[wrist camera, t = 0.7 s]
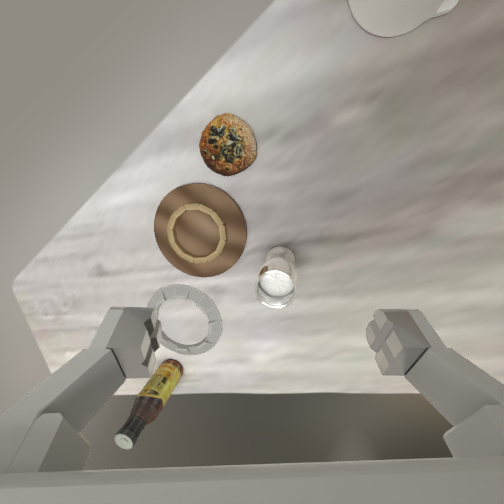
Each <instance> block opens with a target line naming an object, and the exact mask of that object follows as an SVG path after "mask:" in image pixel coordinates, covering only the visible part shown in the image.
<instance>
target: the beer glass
mask: <svg viewBox="0 0 504 504" xmlns="http://www.w3.org/2000/svg"><path fill="white" fill-rule="evenodd" d="M294 264H295V257H294V254H293V253H292V251H291V250H290V249H288V248H286V247H282V246H278V247H275V248H273V249H271V250H270V251H269V252H268V254H267V257H266V262H264V264H263V265H262V266H261V268H260V270H259V272H258V275H257V279H256V284H255V293H256V296H257V298H258V299H259V301H260V302H261V303H262V304H264V305H265V306H267V307H270V308H276V309H278V308H283V307H286V306H288V305H289V304H290V303H291V302H292V301H293V300H294V298H295V296H296V290H297V283H298V278H297V272H296V269H295V267H294Z"/></svg>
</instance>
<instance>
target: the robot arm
mask: <svg viewBox="0 0 504 504" xmlns="http://www.w3.org/2000/svg"><path fill="white" fill-rule="evenodd" d="M458 1H459V0H348V2H349V6H350V9H351V12H352V14H353V16H354V18H355V20H356V21H357V22H358V24H359V25H360V26H361V27H362V28H363V29H365V30H366V31H367V32H369V33H371V34H374V35H377V36H381V37H394V36H399V35H402V34H405V33H407V32H409V31H411V30H413V29H415V28H416V27H418V26H419V25H421V24H422V23H424V22H425V21H427V20H428V19H430V18H433V17H437V16H441V15H444V14H447V13H449V12H450V11H452V10H453V9H454V7H455V6H456V4H457V3H458ZM158 315H159V313H158V310H157V308H142V307H111V308H110V309H109V310H108V311H107V313H106V315H105V317H104V319H103V321H102V323H101V325H100V327H99V329H98V331H97V333H96V335H95V337H94V339H93V341H92V343H91V345H90V347H89V349H83V350H82V351H81V352H80V353H78V354H77V355H76V356H75V357H73V358H72V359H71V360H69V361H68V362H67V363H66V364H64V365H63V366H62V367H61V368H59V369H58V370H57V371H55V372H54V373H53V374H52V375H50V376H49V377H48V378H47V379H45V380H44V381H43V382H41V383H40V384H39V385H38V386H36V387H35V388H34V389H33V390H31V391H30V392H29V393H27V394H26V395H25V396H24V397H22V398H21V399H20V400H18V401H17V402H16V403H15V404H13V405H12V406H11V407H10V408H8V409H7V410H6V411H4V412H3V414H2V415H1V417H0V504H504V385H503V384H502V383H500V382H499V381H497V380H496V379H495V378H493V377H492V376H490V375H489V374H487V373H486V372H484V371H483V370H482V369H480V368H479V367H477V366H476V365H474V364H473V363H471V362H470V361H469V360H467V359H466V358H464V357H463V356H461V355H460V354H459V353H457V352H456V351H454V350H453V349H451V348H447V347H446V346H445V345H444V343H443V342H442V340H441V339H440V337H439V336H438V335H437V333H436V332H435V330H434V329H433V328H432V326H431V325H430V323H429V322H428V320H427V319H426V318H425V316H424V315H423V313H422V312H421V311H419V310H403V309H378V310H377V311H375V313H374V315H373V317H374V320H373V321H371V322H370V323H369V324H368V326H367V328H366V338H367V342H368V344H369V346H370V348H371V349H373V350H374V351H375V352H376V355H375V360H376V362H377V364H378V367H379V369H380V371H381V373H382V375H399V376H405V378H406V379H407V380H408V381H409V382H410V383H411V384H412V385H413V386H414V387H415V388H416V389H417V390H418V391H419V392H420V393H421V394H422V395H423V396H424V397H425V398H426V399H427V400H428V401H429V402H430V403H431V404H432V405H433V406H434V407H435V408H436V409H437V410H438V411H439V412H440V413H441V414H442V415H443V416H444V417H445V418H446V419H447V420H448V421H449V422H450V423H451V424H452V425H453V426H454V427H453V428H451V429H450V430H449V431H447V432H446V433H445V434H444V437H443V438H444V440H445V442H446V444H447V446H448V448H449V449H450V451H451V453H452V455H453V457H454V458H431V459H430V458H429V459H400V460H374V461H373V460H372V461H343V462H315V463H286V464H259V465H229V466H200V467H175V468H174V467H173V468H146V469H145V468H144V469H116V470H87V471H83V470H84V467H85V465H86V462H87V459H88V456H89V453H90V450H91V446H90V443H89V442H88V441H87V440H86V439H85V438H84V437H83V436H82V435H81V434H80V432H81V431H82V429H83V428H84V427H85V426H86V425H87V424H88V423H89V422H90V420H91V419H92V418H93V417H94V416H95V414H96V413H97V412H98V411H99V410H100V409H101V408H102V407H103V406H104V404H105V403H106V402H107V401H108V400H109V399H110V398H111V396H112V395H113V394H114V393H115V392H116V391H117V390H118V388H119V387H120V386H121V385H122V384H123V383H124V382H125V380H126V378H151V376H152V372H153V369H154V365H155V361H156V357H155V354H154V352H155V351H156V350H157V349H158V348H159V346H160V342H161V336H162V326H161V322H160V321H159V320H157V318H158Z"/></svg>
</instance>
